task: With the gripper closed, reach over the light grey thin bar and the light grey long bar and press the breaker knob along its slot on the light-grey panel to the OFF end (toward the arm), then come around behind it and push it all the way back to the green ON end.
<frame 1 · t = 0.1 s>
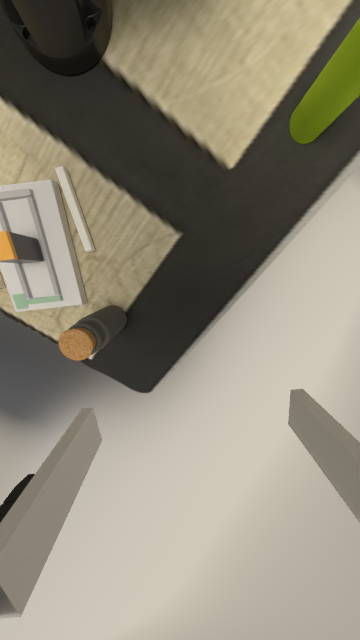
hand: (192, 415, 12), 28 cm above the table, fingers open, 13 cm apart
bottle: (114, 318, 39), on the table
breaker knob: (15, 249, 30), point 5 cm above the table, slide at 6.0 cm
panel: (39, 252, 35), on the table
soap dispenser: (306, 127, 30), on the table
light grey thin bar: (78, 213, 33), on the table
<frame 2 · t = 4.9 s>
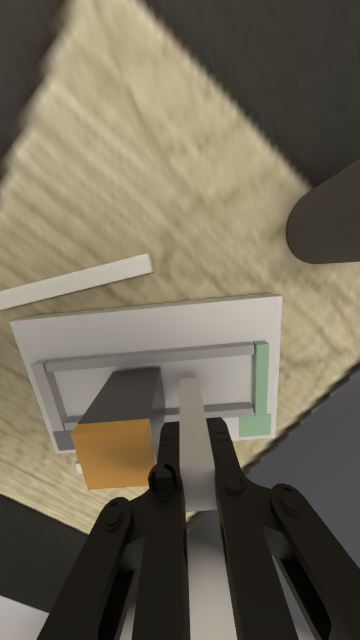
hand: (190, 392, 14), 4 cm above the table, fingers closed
bottle: (319, 227, 15), on the table
breaker knob: (131, 416, 12), point 5 cm above the table, slide at 4.8 cm, touching gripper
panel: (157, 372, 18), on the table
light grey thin bar: (76, 282, 15), on the table
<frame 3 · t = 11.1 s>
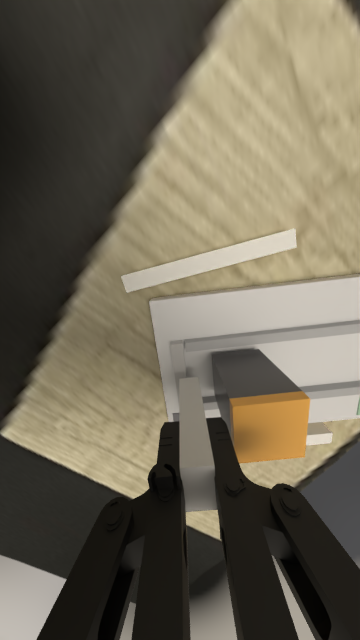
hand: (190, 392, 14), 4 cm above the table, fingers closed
breaker knob: (249, 395, 12), point 6 cm above the table, slide at 1.6 cm, touching gripper
panel: (271, 354, 18), on the table
light grey long bar: (252, 433, 20), on the table
light grey thin bar: (204, 262, 15), on the table
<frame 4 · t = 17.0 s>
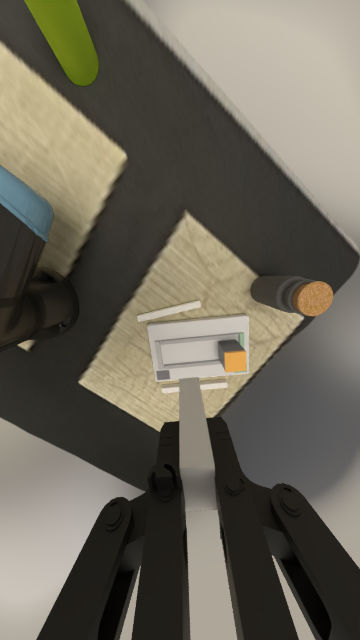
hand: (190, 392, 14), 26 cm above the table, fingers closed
bottle: (263, 289, 38), on the table
breaker knob: (231, 355, 36), point 5 cm above the table, slide at 12.0 cm
panel: (198, 346, 41), on the table
soap dispenser: (83, 61, 29), on the table
light grey long bar: (193, 384, 44), on the table
light grey thin bar: (169, 310, 39), on the table
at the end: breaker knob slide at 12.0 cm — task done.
